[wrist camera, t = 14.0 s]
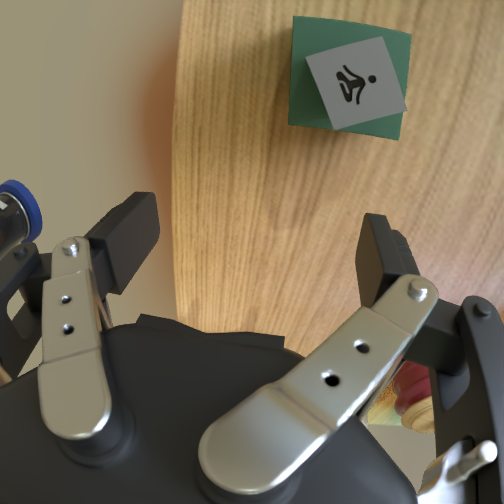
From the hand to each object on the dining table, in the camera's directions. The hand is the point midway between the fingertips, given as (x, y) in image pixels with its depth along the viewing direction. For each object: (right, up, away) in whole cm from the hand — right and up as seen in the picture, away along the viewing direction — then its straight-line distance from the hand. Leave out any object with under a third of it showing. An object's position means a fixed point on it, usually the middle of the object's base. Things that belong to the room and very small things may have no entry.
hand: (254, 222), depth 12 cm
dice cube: (+7, +12, +9) cm, 16 cm away
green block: (+9, +16, +15) cm, 24 cm away
